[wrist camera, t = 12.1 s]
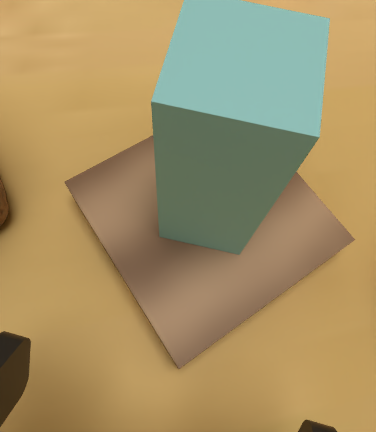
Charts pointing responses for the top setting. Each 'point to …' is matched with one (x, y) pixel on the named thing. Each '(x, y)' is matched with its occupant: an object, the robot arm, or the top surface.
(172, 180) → the post
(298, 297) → the top surface
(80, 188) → the slab
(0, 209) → the block
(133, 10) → the top surface
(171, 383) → the top surface
